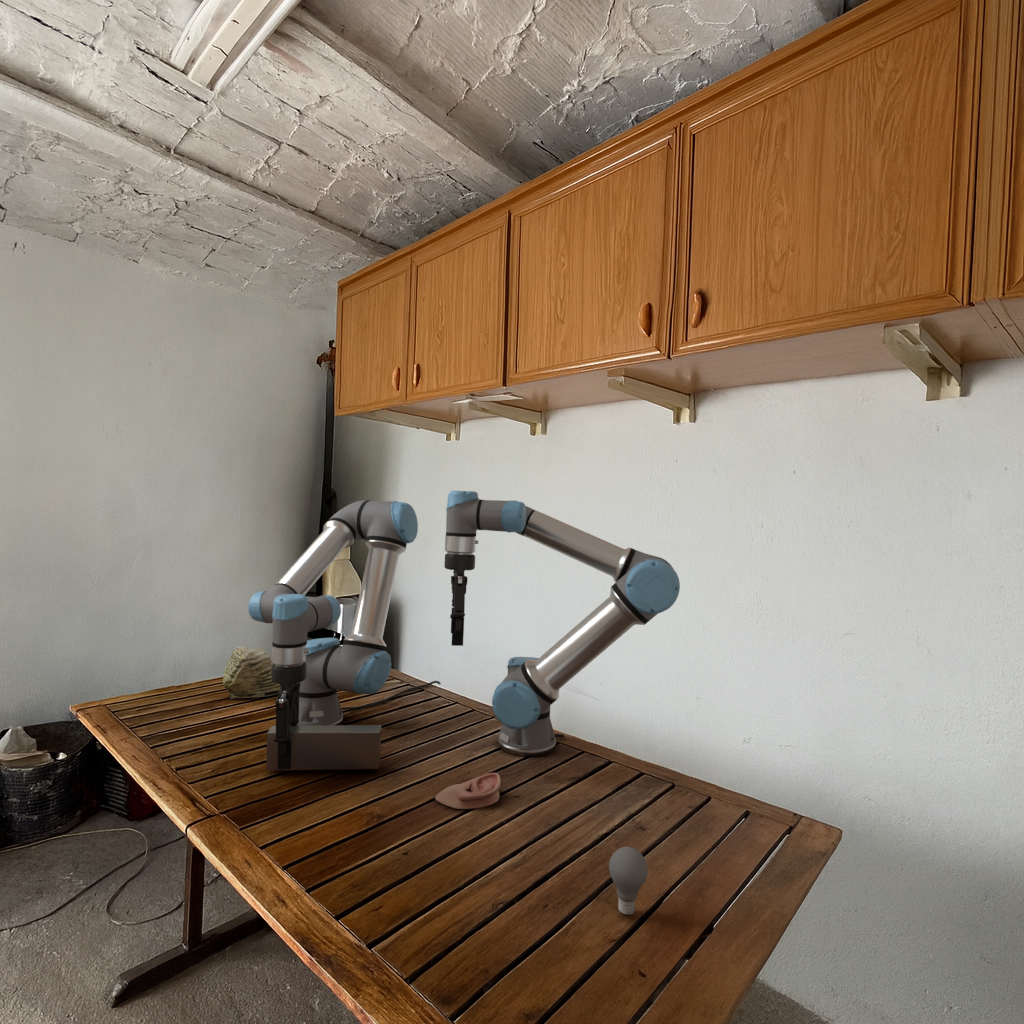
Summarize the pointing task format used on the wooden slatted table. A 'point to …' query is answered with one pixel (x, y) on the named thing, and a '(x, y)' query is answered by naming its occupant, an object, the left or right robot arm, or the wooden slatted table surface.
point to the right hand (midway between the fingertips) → (456, 639)
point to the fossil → (249, 674)
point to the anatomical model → (472, 793)
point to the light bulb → (627, 876)
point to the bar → (329, 747)
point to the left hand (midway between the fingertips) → (286, 763)
